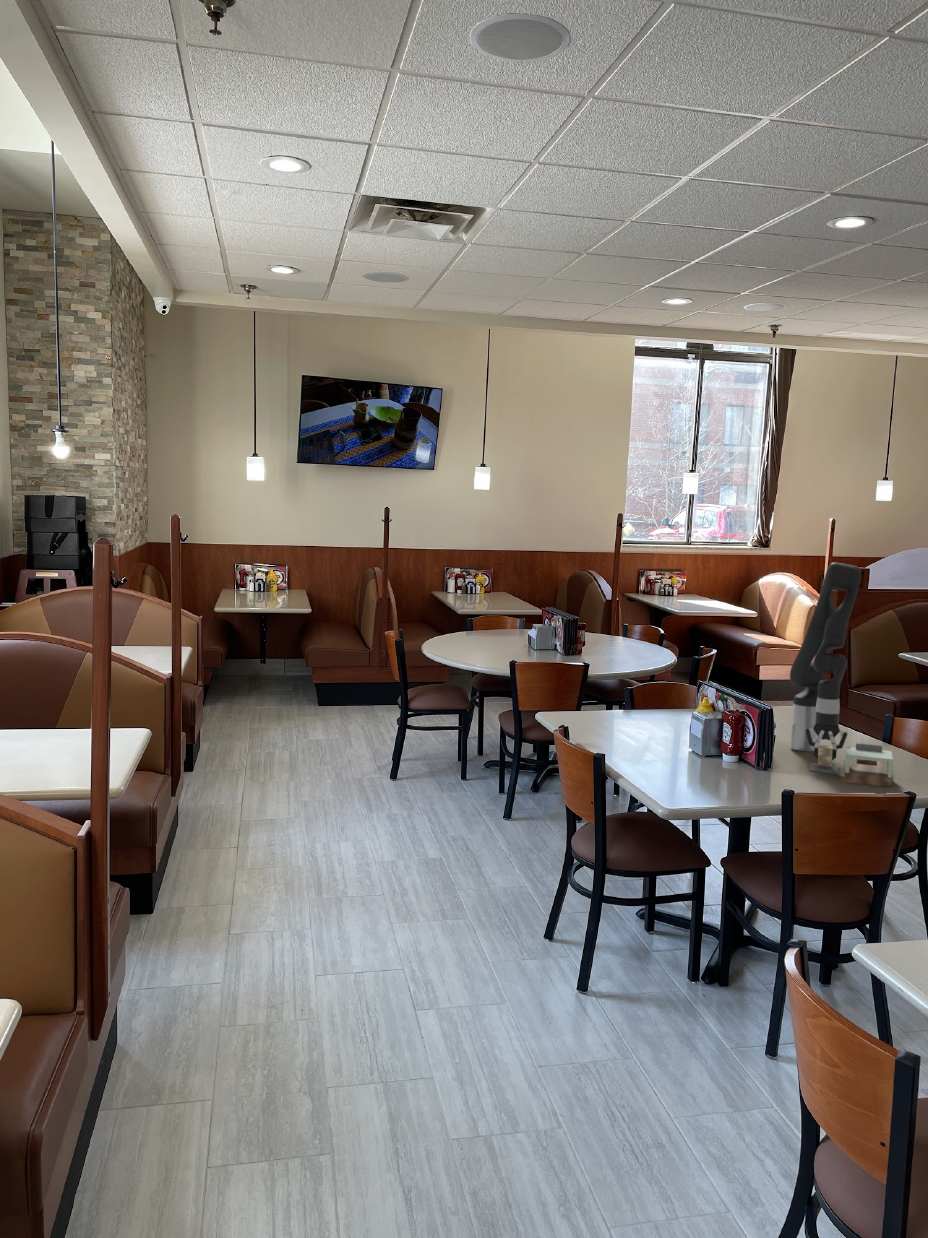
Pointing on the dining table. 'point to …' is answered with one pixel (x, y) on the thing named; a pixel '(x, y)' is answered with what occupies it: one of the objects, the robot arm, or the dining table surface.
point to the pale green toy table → (869, 755)
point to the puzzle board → (867, 772)
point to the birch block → (825, 755)
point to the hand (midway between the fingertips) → (824, 758)
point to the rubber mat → (824, 768)
